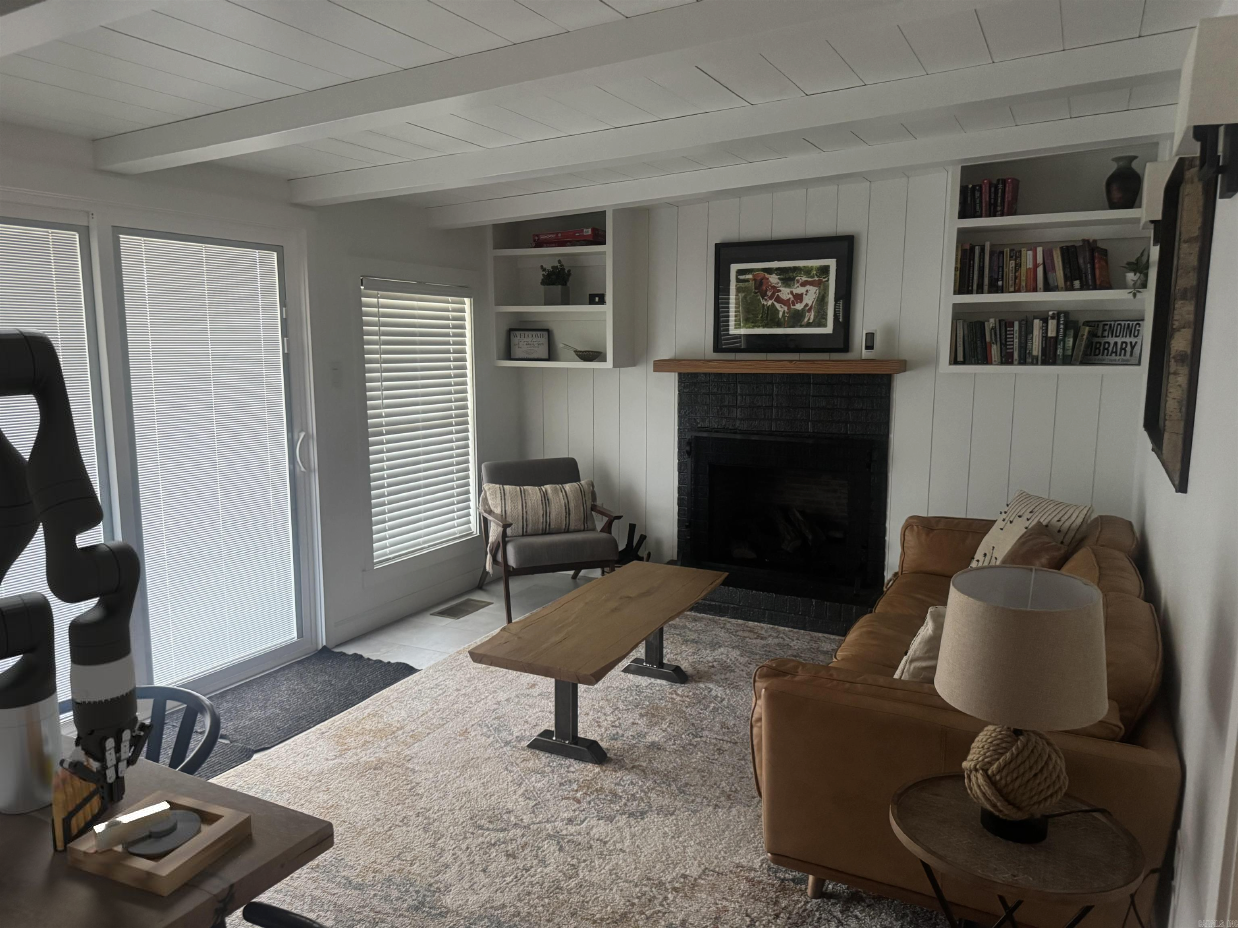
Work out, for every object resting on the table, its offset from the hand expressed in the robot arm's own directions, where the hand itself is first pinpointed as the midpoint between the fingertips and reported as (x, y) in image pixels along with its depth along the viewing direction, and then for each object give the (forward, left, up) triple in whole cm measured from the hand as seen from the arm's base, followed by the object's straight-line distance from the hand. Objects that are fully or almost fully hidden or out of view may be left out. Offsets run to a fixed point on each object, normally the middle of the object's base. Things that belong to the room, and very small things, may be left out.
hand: (112, 801), depth 115 cm
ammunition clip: (-10, +2, -9) cm, 14 cm away
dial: (+4, +2, -7) cm, 8 cm away
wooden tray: (+5, +3, -8) cm, 10 cm away
